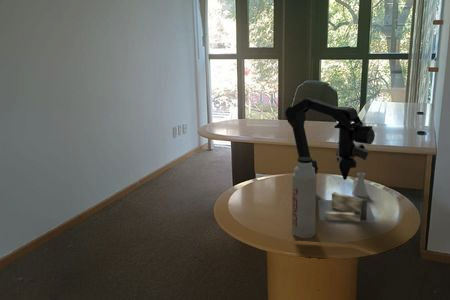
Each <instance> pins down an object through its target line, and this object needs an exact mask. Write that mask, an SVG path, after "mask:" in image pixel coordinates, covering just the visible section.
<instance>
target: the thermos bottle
mask: <svg viewBox="0 0 450 300" xmlns="http://www.w3.org/2000/svg"><path fill="white" fill-rule="evenodd" d="M312 160H313V158H312V157H311V158H309V157H300V158H299V157H297V162H296V163H297V166H295V167H294V170H293V171H294V172H293V173H292V184H291V185H292V186H291V187H292V189H291V190H292V195H291V198H292V199H291V200H292V203H291V205H292V206H291V207H292V209H291V234H292V235H293V236H295V237H297V238H303V239H307V238H312V237H314V236H315V235H316V210H317V209H316V206H317V202H316V201H317V177H318V176H317V174H315V168H314V167H312Z"/></svg>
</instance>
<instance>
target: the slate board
mask: <svg viewBox="0 0 450 300" xmlns="http://www.w3.org/2000/svg"><path fill="white" fill-rule="evenodd" d="M317 201H318V202H317V205H318V216H319V221H326V220H325V211H326V212H345V211H342V210H338V209H335V208H332V207H331V206H332V199H317ZM370 206H371V205H370V204H369V202H368V201H367V216H366V220H362V219H361V216H360V221H349V222H350V223H351V222H352V223H353V222H354V223H357V222H358V223H371V224H372V223H373V224H376V223H377V222H376V219H375V216H374V214H373V211H372V209H371V207H370ZM329 221H330V222H331V221H333V222H335V221H336V222H345V221H344V220H329Z"/></svg>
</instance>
